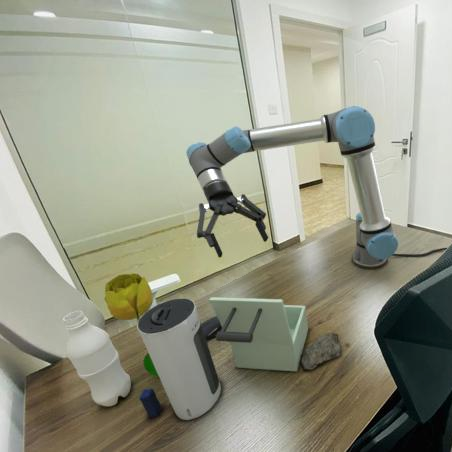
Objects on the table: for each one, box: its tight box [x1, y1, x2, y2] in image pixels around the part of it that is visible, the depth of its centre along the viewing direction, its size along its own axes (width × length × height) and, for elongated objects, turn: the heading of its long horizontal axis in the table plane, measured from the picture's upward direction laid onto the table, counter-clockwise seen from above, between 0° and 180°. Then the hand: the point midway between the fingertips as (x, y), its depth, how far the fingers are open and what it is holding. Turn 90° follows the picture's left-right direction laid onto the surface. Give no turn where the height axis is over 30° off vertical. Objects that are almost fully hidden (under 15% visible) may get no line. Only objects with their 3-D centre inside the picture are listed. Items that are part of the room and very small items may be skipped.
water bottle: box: [62, 310, 132, 407], centre depth 59 cm, size 7×7×25 cm
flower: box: [104, 273, 159, 377], centre depth 63 cm, size 9×8×30 cm
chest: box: [229, 304, 309, 372], centre depth 74 cm, size 15×17×9 cm
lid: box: [208, 296, 293, 345], centre depth 57 cm, size 15×17×9 cm
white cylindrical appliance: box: [136, 297, 222, 421], centre depth 57 cm, size 11×10×26 cm
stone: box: [300, 332, 342, 371], centre depth 72 cm, size 14×8×3 cm, turn 116°
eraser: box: [139, 388, 162, 418], centre depth 58 cm, size 2×2×7 cm
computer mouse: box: [201, 315, 222, 342], centre depth 78 cm, size 12×17×4 cm
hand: (244, 247), depth 74 cm, fingers open, 13 cm apart
